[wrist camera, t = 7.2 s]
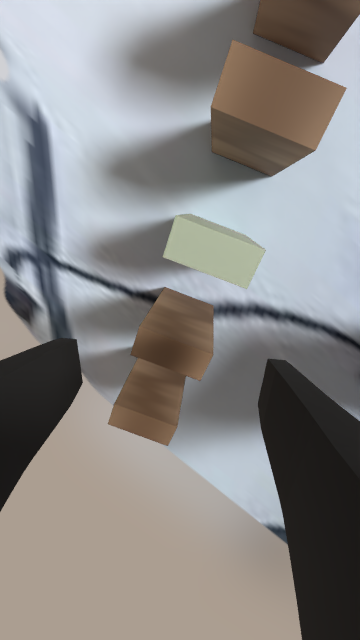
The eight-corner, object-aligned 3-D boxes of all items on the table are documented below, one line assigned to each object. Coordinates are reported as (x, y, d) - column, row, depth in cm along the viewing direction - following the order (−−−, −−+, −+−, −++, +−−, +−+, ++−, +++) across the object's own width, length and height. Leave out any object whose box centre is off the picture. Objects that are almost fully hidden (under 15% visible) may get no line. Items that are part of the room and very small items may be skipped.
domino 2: (188, 361, 21) (177, 426, 15) (181, 376, 22) (167, 445, 16) (144, 344, 21) (114, 403, 15) (139, 361, 22) (107, 424, 16)
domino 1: (213, 305, 19) (213, 354, 13) (204, 325, 20) (200, 380, 13) (164, 286, 19) (139, 326, 13) (157, 307, 20) (130, 354, 13)
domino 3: (245, 235, 17) (265, 250, 10) (234, 260, 18) (247, 289, 11) (190, 213, 17) (175, 215, 10) (181, 239, 18) (162, 257, 11)
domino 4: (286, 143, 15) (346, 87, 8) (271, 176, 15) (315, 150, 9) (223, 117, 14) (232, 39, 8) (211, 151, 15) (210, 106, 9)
